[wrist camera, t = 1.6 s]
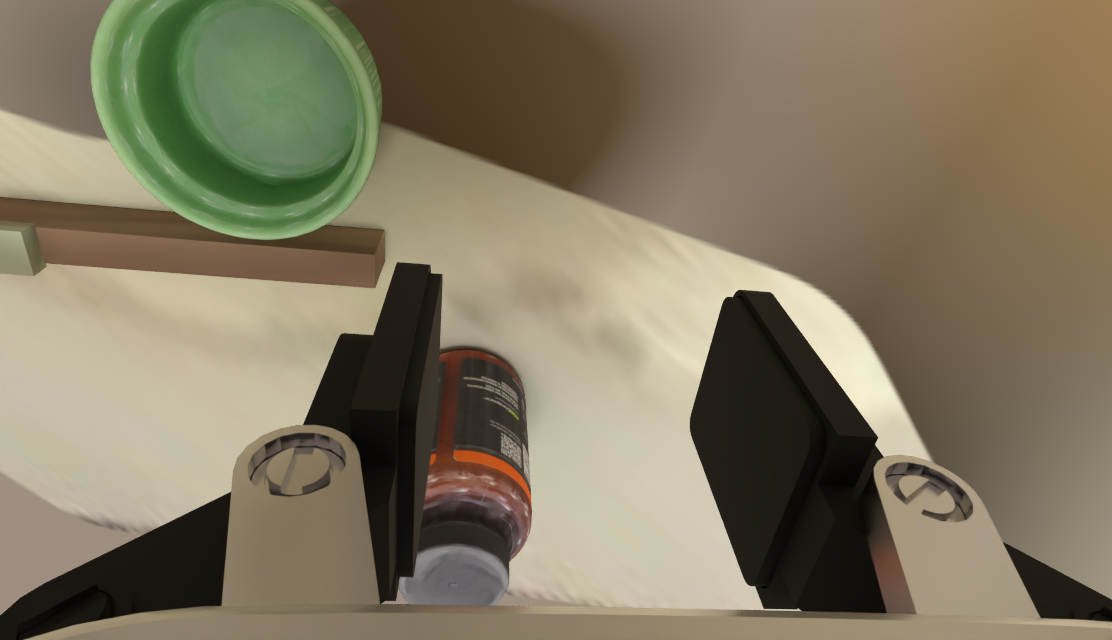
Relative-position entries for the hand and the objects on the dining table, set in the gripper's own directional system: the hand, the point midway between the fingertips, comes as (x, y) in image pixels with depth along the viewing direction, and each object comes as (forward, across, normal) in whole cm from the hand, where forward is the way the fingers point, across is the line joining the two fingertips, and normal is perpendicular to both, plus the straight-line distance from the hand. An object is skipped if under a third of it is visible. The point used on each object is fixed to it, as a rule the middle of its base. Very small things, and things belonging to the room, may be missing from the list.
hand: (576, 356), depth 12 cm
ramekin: (+18, +10, 0) cm, 20 cm away
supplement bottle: (+18, +2, +14) cm, 23 cm away
